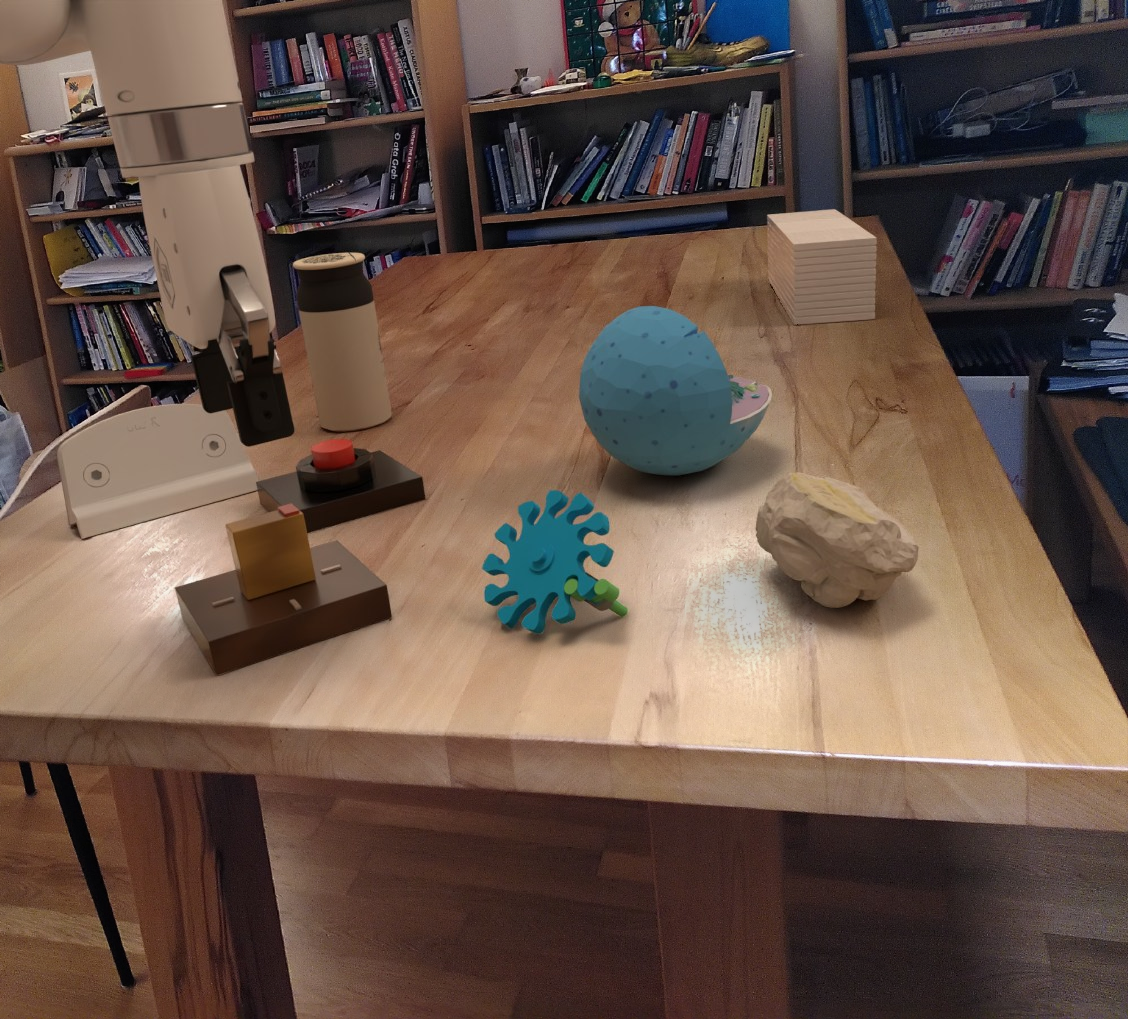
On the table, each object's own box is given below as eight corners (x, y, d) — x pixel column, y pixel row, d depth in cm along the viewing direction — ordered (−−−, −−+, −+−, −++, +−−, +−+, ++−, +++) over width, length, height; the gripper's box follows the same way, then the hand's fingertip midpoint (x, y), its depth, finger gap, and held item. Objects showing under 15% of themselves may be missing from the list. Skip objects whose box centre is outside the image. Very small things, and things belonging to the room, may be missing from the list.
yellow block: (247, 600, 70) (231, 529, 68) (240, 590, 72) (224, 520, 70) (316, 579, 72) (302, 509, 70) (307, 570, 74) (293, 501, 72)
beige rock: (819, 542, 77) (720, 596, 72) (806, 436, 74) (701, 485, 69) (961, 582, 67) (858, 648, 62) (952, 462, 64) (843, 521, 59)
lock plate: (216, 676, 66) (207, 639, 65) (182, 618, 74) (173, 585, 73) (392, 617, 71) (386, 582, 70) (342, 569, 79) (336, 537, 78)
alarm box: (293, 537, 86) (284, 492, 85) (260, 504, 94) (251, 462, 93) (426, 499, 92) (419, 457, 90) (383, 471, 100) (377, 431, 98)
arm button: (322, 474, 89) (318, 455, 89) (309, 464, 92) (305, 445, 92) (361, 464, 91) (358, 445, 90) (347, 454, 94) (344, 435, 93)
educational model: (812, 450, 95) (812, 284, 89) (682, 519, 83) (672, 332, 77) (677, 424, 105) (669, 274, 99) (544, 482, 93) (527, 315, 88)
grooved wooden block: (874, 319, 140) (876, 237, 136) (794, 325, 141) (793, 243, 137) (834, 277, 169) (835, 208, 165) (768, 282, 170) (767, 214, 166)
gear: (452, 586, 71) (533, 464, 72) (503, 615, 75) (579, 500, 76) (551, 662, 63) (641, 525, 64) (602, 690, 68) (686, 562, 68)
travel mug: (318, 437, 112) (286, 268, 105) (322, 416, 119) (293, 257, 113) (392, 427, 113) (366, 259, 106) (392, 407, 120) (367, 249, 114)
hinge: (78, 539, 90) (41, 427, 89) (73, 541, 94) (38, 434, 93) (265, 487, 98) (233, 384, 97) (253, 491, 102) (222, 392, 101)
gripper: (94, 151, 66) (161, 410, 73) (144, 151, 52) (222, 472, 58) (213, 137, 69) (267, 386, 76) (290, 134, 55) (348, 439, 62)
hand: (247, 423), depth 67 cm, fingers open, 9 cm apart
